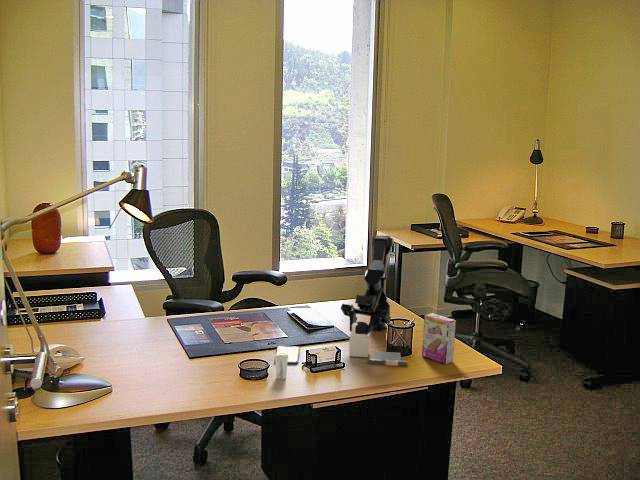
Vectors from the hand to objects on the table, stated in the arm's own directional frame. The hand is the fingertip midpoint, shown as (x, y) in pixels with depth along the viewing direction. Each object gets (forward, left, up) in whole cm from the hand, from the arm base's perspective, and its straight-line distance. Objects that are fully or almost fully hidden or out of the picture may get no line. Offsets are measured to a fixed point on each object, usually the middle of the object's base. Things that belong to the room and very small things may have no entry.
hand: (358, 332), depth 262 cm
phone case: (+20, -17, -10) cm, 28 cm away
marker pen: (-2, +13, -9) cm, 16 cm away
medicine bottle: (-1, 0, -9) cm, 9 cm away
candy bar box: (-19, +23, -9) cm, 31 cm away
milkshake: (+36, -4, -9) cm, 37 cm away
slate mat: (-7, +9, -9) cm, 14 cm away
